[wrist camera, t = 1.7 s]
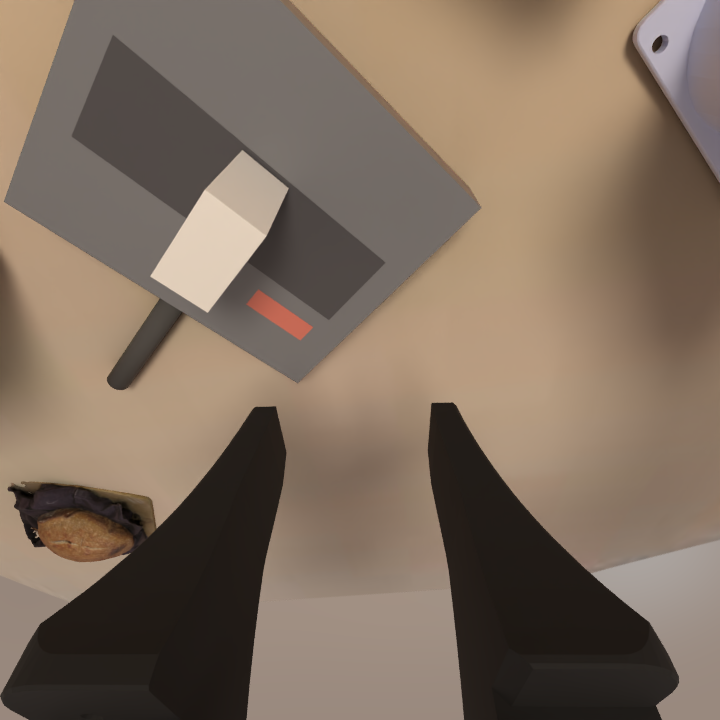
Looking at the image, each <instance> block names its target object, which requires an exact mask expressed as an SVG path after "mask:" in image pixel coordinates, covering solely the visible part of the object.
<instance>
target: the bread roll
mask: <svg viewBox="0 0 720 720" xmlns="http://www.w3.org/2000/svg"><path fill="white" fill-rule="evenodd" d="M11 484H12V486H11V487H8V491H11V492H14V494H15V497H16V504H15V505H14V507H15V508H16V509H18V510H19V511H20V517H21V519H22V522H23V523H24V528H25V531H26V534H27V536H28V539H30V540H31V542H32V544H33V545H34V547H45V546H46V547H48V548H49V549H50V550H51V551H52V552H53V553H55V554H57V555H58V556H60V557H63V558H65V559H68V560H72V561H77V562H93V561H101V560H105V559H109V558H113V557H117V556H120V555H125V554H129V553H132V552H133V551H134V550H135V549H136V548H137V547H138V546H139V545H140V544H142V543H143V542H144V541H145V540H146V539H147V538H148V537H149V536H150V535H151V534H152V533H153V532H154V531H155V530H156V523H155V517H154V510H153V505H152V500H151V499H150V498H149V497H145V496H140V495H135V494H130V493H123V492H117V491H111V490H105V489H97V488H91V487H84V486H78V485H65V484H56V483H44V482H21V484H25V485H26V486H25V487H19V486H16V485H15V484H13V483H11ZM28 492H31V493H33V494H30V493H28ZM31 527H32V529H31ZM34 530H36V531H38V534H39V537H38V538H35V536H37V535H36V532H34V533H33V531H34Z"/></svg>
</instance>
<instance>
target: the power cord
mask: <svg viewBox="0 0 720 720" xmlns="http://www.w3.org/2000/svg"><path fill="white" fill-rule="evenodd" d="M181 313H182V311H180V310H178V309H177V308H175V307H173V306H172V305H170V304H169V303H167V302H165V301H164V300H162V299H161V298H160V299H159V301H158V302H157V304H156V305H155V307H154V308H153V310H152V311H151V313H150V314H149V316H148V317H147V319H146V320H145V322H144V323H143V325H142V326H141V328H140V329H139V331H138V332H137V334H136V335H135V337H134V338H133V340H132V341H131V343H130V344H129V346H128V347H127V349H126V350H125V352H124V353H123V355H122V356H121V358H120V359H119V361H118V362H117V364H116V365H115V367H114V368H113V370H112V371H111V373H110V374H109V376H108V377H107V382H108V384H109V385H110V386H111V387H112V388H114V389H117V390H124V389H126V388H128V387H129V385H130V384H131V382H132V381H133V380H134V378H135V377H136V375H137V374H138V373H139V371H140V370H141V369H142V367H143V366H144V364H145V363H146V362H147V360H148V359H149V357H150V356H151V355H152V353H153V352H154V351H155V349H156V348H157V346H158V345H159V344H160V342H161V341H162V340H163V338H164V337H165V335H166V334H167V333H168V331H169V330H170V328H171V327H172V326H173V324H174V323H175V322H176V320H177V319H178V317H179V316H180V315H181Z"/></svg>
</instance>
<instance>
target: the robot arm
mask: <svg viewBox="0 0 720 720" xmlns="http://www.w3.org/2000/svg"><path fill="white" fill-rule="evenodd" d="M659 36H662V40H663V41H662V45H661V47H660V48H659V49H658V50H657V51H656V52H653V51H652V45H653V42H654V41H655V39H656V38H657V37H659ZM633 43H634V46H635V48H636V49H637V51H638V52H639V54H640V56H641V57H642V59H643V61H644V62H645V64H646V65H647V67H648V69H649V70H650V72H651V73H652V75H653V77H654V78H655V80H656V81H657V83H658V85H659V86H660V88H661V90H662V91H663V93H664V94H665V96H666V98H667V99H668V101H669V102H670V104H671V106H672V107H673V109H674V110H675V112H676V114H677V115H678V117H679V118H680V120H681V122H682V123H683V125H684V127H685V128H686V130H687V131H688V133H689V135H690V136H691V138H692V139H693V141H694V143H695V144H696V146H697V147H698V149H699V151H700V152H701V154H702V156H703V157H704V159H705V160H706V162H707V164H708V165H709V167H710V168H711V170H712V172H713V173H714V175H715V176H716V178H717V180H718V181H719V183H720V0H661V1H660V2H659V3H658V4H657V5H656V6H655V7H654V8H653V9H652V10H651V11H650V12H649V13H648V14H647V15H646V16H645V17H644V18H643V19H642V20H641V21H640V22H639V23H638V25H637V26H636V28H635V30H634V33H633ZM428 457H429V467H430V477H431V485H432V490H433V494H434V499H435V504H436V509H437V514H438V518H439V523H440V528H441V533H442V537H443V542H444V547H445V552H446V557H447V563H448V569H449V576H450V585H451V594H452V602H453V611H454V620H455V630H456V637H457V638H456V639H457V648H458V658H459V669H460V678H461V689H462V699H463V711H464V720H662V719H661V717H660V714H659V712H658V710H657V707H656V705H657V704H658V703H659V702H661V701H662V700H663V699H664V698H666V697H667V696H668V695H670V694H671V693H672V692H673V691H674V690H675V689H676V687H677V686H678V683H679V676H678V674H677V672H676V670H675V668H674V666H673V663H672V662H671V659H670V657H669V655H668V653H667V652H666V650H665V648H664V647H663V645H662V643H661V641H660V640H659V638H658V636H657V634H656V633H655V631H654V629H653V628H652V626H651V625H650V623H649V622H648V621H647V620H645V619H644V618H643V617H642V616H640V615H639V614H638V613H637V612H635V611H634V610H633V609H632V608H630V607H629V606H628V605H627V604H626V603H624V602H623V601H622V600H620V599H619V598H618V597H617V596H616V595H615V594H614V593H612V592H611V591H610V590H609V589H608V588H606V587H605V586H604V585H603V584H602V583H601V582H600V581H598V580H597V579H596V578H595V577H594V576H593V575H592V574H591V573H589V572H588V571H587V570H586V569H585V568H584V567H583V566H582V565H581V564H580V563H579V562H578V561H576V560H575V559H574V558H573V557H572V556H571V555H570V554H569V553H568V552H567V551H566V550H565V549H564V548H563V547H562V546H561V545H560V544H559V543H558V542H557V541H556V540H555V539H554V538H553V537H552V536H551V535H550V534H549V533H548V532H547V531H546V530H545V529H544V528H543V527H542V526H541V525H540V523H539V522H538V521H537V520H536V519H535V518H534V517H533V516H532V515H531V514H530V512H529V511H528V510H527V509H526V508H525V507H524V506H523V504H522V503H521V502H520V501H519V500H518V498H517V497H516V496H515V495H514V493H513V492H512V491H511V490H510V488H509V487H508V486H507V485H506V483H505V482H504V481H503V479H502V478H501V477H500V475H499V474H498V473H497V471H496V470H495V469H494V467H493V466H492V464H491V463H490V461H489V460H488V458H487V457H486V455H485V454H484V452H483V451H482V450H481V448H480V447H479V445H478V443H477V442H476V440H475V439H474V437H473V435H472V434H471V432H470V430H469V429H468V427H467V425H466V423H465V422H464V420H463V418H462V416H461V414H460V412H459V410H458V408H457V406H456V405H455V404H454V403H432V404H431V417H430V429H429V442H428ZM285 461H286V449H285V444H284V440H283V436H282V431H281V427H280V422H279V418H278V414H277V409H276V407H255V408H254V409H253V410H252V411H251V413H250V414H249V416H248V417H247V419H246V420H245V422H244V423H243V425H242V426H241V428H240V429H239V431H238V432H237V434H236V435H235V437H234V438H233V439H232V441H231V442H230V444H229V445H228V446H227V448H226V449H225V451H224V452H223V453H222V455H221V456H220V457H219V459H218V460H217V461H216V463H215V464H214V465H213V467H212V468H211V469H210V470H209V472H208V473H207V474H206V475H205V476H204V478H203V479H202V480H201V481H200V483H199V484H198V485H197V486H196V487H195V489H194V490H193V491H192V492H191V493H190V494H189V496H188V497H187V498H186V499H185V500H184V501H183V502H182V503H181V505H180V506H179V507H178V508H177V509H176V510H175V511H174V512H173V513H172V514H171V515H170V516H169V517H168V518H167V519H166V520H165V521H164V522H163V523H162V524H161V525H160V526H159V527H158V528H157V529H156V530H155V531H154V532H153V533H152V534H151V535H150V536H149V537H148V538H147V539H146V540H145V541H144V542H143V543H142V544H140V545H139V546H138V547H137V548H136V549H135V550H134V551H133V552H132V553H131V554H129V555H128V556H127V557H126V558H125V559H123V560H122V561H121V562H120V563H119V564H118V565H116V566H115V567H114V568H113V569H112V570H110V571H109V572H108V573H107V574H106V575H105V576H103V577H102V578H101V579H100V580H99V581H97V582H96V583H95V584H94V585H92V586H91V587H90V588H89V589H87V590H86V591H85V592H83V593H82V594H81V595H79V596H78V597H76V598H75V599H74V600H72V601H71V602H70V603H68V604H67V605H66V606H64V607H63V608H62V609H60V610H59V611H58V612H56V613H55V614H54V615H52V616H51V617H50V618H48V619H47V620H45V621H44V622H42V623H41V624H40V625H39V627H38V628H37V630H36V632H35V633H34V635H33V636H32V638H31V640H30V641H29V643H28V645H27V647H26V649H25V650H24V652H23V654H22V656H21V658H20V660H19V662H18V664H17V665H16V667H15V669H14V671H13V673H12V675H11V677H10V679H9V680H8V682H7V684H6V686H5V688H4V690H3V692H2V693H1V696H0V697H1V700H2V702H3V704H4V706H6V707H7V708H9V709H10V710H12V711H14V712H15V713H17V714H20V715H21V716H23V717H25V718H27V719H29V720H246V718H247V707H248V706H247V705H248V696H249V684H250V675H251V665H252V656H253V646H254V638H255V629H256V621H257V613H258V604H259V598H260V590H261V583H262V576H263V570H264V564H265V559H266V555H267V550H268V546H269V542H270V538H271V533H272V529H273V525H274V521H275V516H276V512H277V508H278V504H279V499H280V495H281V490H282V486H283V479H284V470H285Z"/></svg>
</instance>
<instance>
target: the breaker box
mask: <svg viewBox="0 0 720 720" xmlns="http://www.w3.org/2000/svg"><path fill="white" fill-rule="evenodd" d="M242 150H243V151H244V152H245V153H247V154H248V155H249V156H250V157H251V158H253V159H254V160H255V161H256V162H257V163H259V164H260V165H261V166H262V167H264V168H265V169H266V170H267V171H268V172H270V173H271V174H272V175H273V176H274V177H276V178H277V179H278V180H279V181H280V182H282V183H283V184H284V185H285V186H286V187H288V188H289V189H288V191H287V193H286V195H285V197H284V200H283V202H282V204H281V206H280V208H279V210H278V213H277V215H276V217H275V219H274V221H273V223H272V225H271V228H270V230H269V232H268V234H267V236H266V237H265V239H264V240H263V241H262V243H261V244H260V245H259V247H258V248H257V249H256V250H255V252H254V253H253V254H252V256H251V257H250V258H249V260H248V261H247V262H246V263H245V265H244V266H243V267H242V269H241V270H240V271H239V273H238V274H237V275H236V277H235V278H234V279H233V280H232V282H231V283H230V284H229V286H228V287H227V288H226V290H225V291H224V292H223V293H222V295H221V296H220V297H219V299H218V300H217V301H216V303H215V304H214V305H213V306H212V308H211V309H210V310H209V312H208V313H207V312H206V311H204V310H202V309H201V308H199V307H198V306H196V305H195V304H193V303H191V302H190V301H188V300H187V299H185V298H183V297H182V296H180V295H179V294H177V293H176V292H174V291H172V290H171V289H169V288H168V287H166V286H165V285H163V284H161V283H160V282H158V281H157V280H155V279H153V278H152V277H150V276H151V274H152V273H153V271H154V270H155V268H156V266H157V265H158V263H159V262H160V260H161V258H162V257H163V255H164V254H165V252H166V251H167V249H168V247H169V246H170V244H171V243H172V241H173V239H174V238H175V236H176V235H177V233H178V231H179V230H180V228H181V227H182V225H183V224H184V222H185V220H186V219H187V217H188V216H189V214H190V212H191V211H192V209H193V208H194V206H195V205H196V203H197V201H198V200H199V198H200V197H201V195H202V193H203V192H204V190H205V189H206V188H207V187H208V186H209V185H210V184H211V183H212V182H213V180H214V179H215V178H216V177H217V176H218V175H219V174H220V173H221V172H222V171H223V170H224V169H225V168H226V167H227V166H228V165H229V164H230V163H231V162H232V161H233V159H234V158H235V157H236V156H237V155H238V154H239V153H240V152H241V151H242ZM4 202H5V203H7V204H8V205H10V206H12V207H13V208H15V209H16V210H18V211H20V212H21V213H23V214H24V215H26V216H28V217H29V218H31V219H33V220H34V221H36V222H37V223H39V224H41V225H42V226H44V227H46V228H47V229H49V230H50V231H52V232H54V233H55V234H57V235H58V236H60V237H62V238H63V239H65V240H67V241H68V242H70V243H71V244H73V245H75V246H76V247H78V248H80V249H81V250H83V251H84V252H86V253H88V254H89V255H91V256H92V257H94V258H96V259H97V260H99V261H101V262H102V263H104V264H105V265H107V266H109V267H110V268H112V269H114V270H115V271H117V272H118V273H120V274H122V275H123V276H125V277H127V278H128V279H130V280H131V281H133V282H135V283H136V284H138V285H139V286H141V287H143V288H144V289H146V290H148V291H149V292H151V293H152V294H154V295H156V296H157V297H159V298H161V299H162V300H164V301H165V302H167V303H169V304H170V305H172V306H173V307H175V308H177V309H178V310H180V311H182V312H183V313H185V314H186V315H188V316H190V317H191V318H193V319H195V320H196V321H198V322H199V323H201V324H203V325H204V326H206V327H207V328H209V329H211V330H212V331H214V332H216V333H217V334H219V335H220V336H222V337H224V338H225V339H227V340H229V341H230V342H232V343H233V344H235V345H237V346H238V347H240V348H241V349H243V350H245V351H246V352H248V353H250V354H251V355H253V356H254V357H256V358H258V359H259V360H261V361H263V362H264V363H266V364H267V365H269V366H271V367H272V368H274V369H275V370H277V371H279V372H280V373H282V374H284V375H285V376H287V377H288V378H290V379H292V380H293V381H295V382H297V383H298V382H299V381H300V380H301V379H302V378H304V377H305V376H306V375H307V374H308V373H309V372H310V371H311V370H312V369H313V368H314V367H315V366H316V365H317V364H318V363H319V362H320V361H321V360H322V359H323V358H324V357H326V356H327V355H328V354H329V353H330V352H331V351H332V350H333V349H334V348H335V347H336V346H337V345H338V344H339V343H340V342H341V341H342V340H343V339H344V338H345V337H346V336H348V335H349V334H350V333H351V332H352V331H353V330H354V329H355V328H356V327H357V326H358V325H359V324H360V323H361V322H362V321H363V320H364V319H365V318H366V317H367V316H369V315H370V314H371V313H372V312H373V311H374V310H375V309H376V308H377V307H378V306H379V305H380V304H381V303H382V302H383V301H384V300H385V299H386V298H387V297H388V296H389V295H391V294H392V293H393V292H394V291H395V290H396V289H397V288H398V287H399V286H400V285H401V284H402V283H403V282H404V281H405V280H406V279H407V278H408V277H409V276H410V275H411V274H413V273H414V272H415V271H416V270H417V269H418V268H419V267H420V266H421V265H422V264H423V263H424V262H425V261H426V260H427V259H428V258H429V257H430V256H431V255H432V254H433V253H435V252H436V251H437V250H438V249H439V248H440V247H441V246H442V245H443V244H444V243H445V242H446V241H447V240H448V239H449V238H450V237H451V236H452V235H453V234H454V233H455V232H457V231H458V230H459V229H460V228H461V227H462V226H463V225H464V224H465V223H466V222H467V221H468V220H469V219H470V218H471V217H472V216H473V215H474V214H475V213H476V212H477V211H479V210H480V209H481V206H480V204H479V203H478V201H477V199H476V198H475V196H474V194H473V193H472V191H471V189H470V188H469V187H468V186H467V185H466V183H465V182H464V181H463V180H462V179H461V178H460V177H459V176H458V175H457V174H456V173H455V172H454V171H453V170H452V169H451V168H450V167H449V166H448V165H447V164H446V163H445V162H444V161H443V160H442V159H441V157H440V156H439V155H438V154H437V153H436V152H435V151H434V150H433V149H432V148H431V147H430V146H429V145H428V144H427V143H426V142H425V141H424V140H423V139H422V138H421V137H420V136H419V135H418V134H417V133H416V131H415V130H414V129H413V128H412V127H411V126H410V125H409V124H408V123H407V122H406V121H405V120H404V119H403V118H402V117H401V116H400V115H399V114H398V113H397V112H396V111H395V110H394V109H393V108H392V107H391V105H390V104H389V103H388V102H387V101H386V100H385V99H384V98H383V97H382V96H381V95H380V94H379V93H378V92H377V91H376V90H375V89H374V88H373V87H372V86H371V85H370V84H369V83H368V82H367V81H366V79H365V78H364V77H363V76H362V75H361V74H360V73H359V72H358V71H357V70H356V69H355V68H354V67H353V66H352V65H351V64H350V63H349V62H348V61H347V60H346V59H345V58H344V57H343V56H342V55H341V53H340V52H339V51H338V50H337V49H336V48H335V47H334V46H333V45H332V44H331V43H330V42H329V41H328V40H327V39H326V38H325V37H324V36H323V35H322V34H321V33H320V32H319V31H318V30H317V29H316V27H315V26H314V25H313V24H312V23H311V22H310V21H309V20H308V19H307V18H306V17H305V16H304V15H303V14H302V13H301V12H300V11H299V10H298V9H297V8H296V7H295V6H294V5H293V4H292V3H291V1H290V0H75V1H74V4H73V6H72V9H71V12H70V15H69V18H68V21H67V23H66V26H65V29H64V32H63V35H62V38H61V41H60V43H59V46H58V49H57V52H56V55H55V58H54V60H53V63H52V66H51V69H50V72H49V75H48V78H47V80H46V83H45V86H44V89H43V92H42V95H41V97H40V100H39V103H38V106H37V109H36V112H35V115H34V117H33V120H32V123H31V126H30V129H29V132H28V134H27V137H26V140H25V143H24V146H23V149H22V152H21V154H20V157H19V160H18V163H17V166H16V169H15V171H14V174H13V177H12V180H11V183H10V186H9V189H8V191H7V194H6V197H5V200H4Z"/></svg>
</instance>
